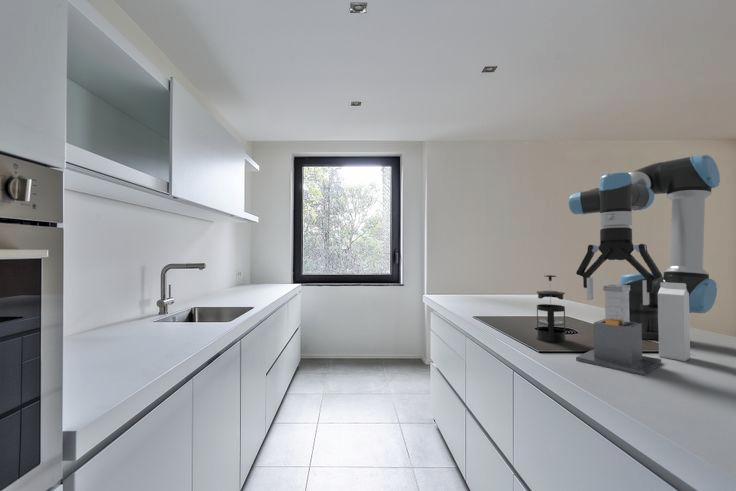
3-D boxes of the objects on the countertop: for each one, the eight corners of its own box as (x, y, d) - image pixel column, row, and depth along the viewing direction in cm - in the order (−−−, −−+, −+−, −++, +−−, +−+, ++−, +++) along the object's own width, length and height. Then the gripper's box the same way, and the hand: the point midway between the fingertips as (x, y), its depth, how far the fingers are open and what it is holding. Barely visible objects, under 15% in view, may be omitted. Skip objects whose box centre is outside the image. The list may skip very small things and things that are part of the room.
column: (613, 353, 105) (611, 284, 105) (631, 356, 101) (630, 285, 102) (604, 357, 101) (603, 285, 101) (623, 361, 97) (622, 287, 97)
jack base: (597, 350, 112) (596, 312, 112) (661, 362, 100) (660, 319, 100) (576, 360, 102) (575, 318, 102) (644, 375, 90) (643, 326, 90)
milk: (685, 361, 101) (683, 284, 101) (658, 356, 106) (657, 282, 106) (690, 357, 105) (689, 282, 105) (664, 352, 109) (663, 281, 110)
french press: (567, 344, 120) (566, 276, 120) (536, 341, 124) (535, 275, 124) (564, 337, 130) (563, 274, 131) (536, 334, 135) (535, 273, 135)
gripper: (564, 229, 109) (564, 298, 109) (668, 224, 90) (669, 308, 89) (574, 230, 114) (575, 296, 113) (675, 225, 94) (676, 305, 94)
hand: (616, 302), depth 101 cm, fingers open, 13 cm apart
